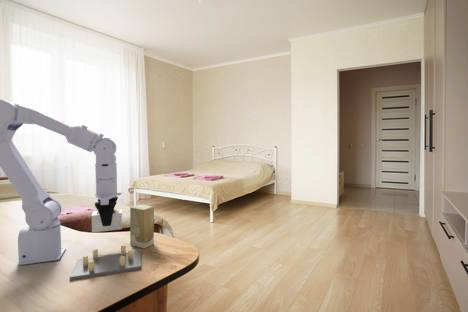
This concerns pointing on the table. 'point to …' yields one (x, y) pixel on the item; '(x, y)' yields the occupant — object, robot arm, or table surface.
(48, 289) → the table surface
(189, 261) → the table surface
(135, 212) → the skincare box
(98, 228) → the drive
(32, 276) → the table surface
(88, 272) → the grey peg board
